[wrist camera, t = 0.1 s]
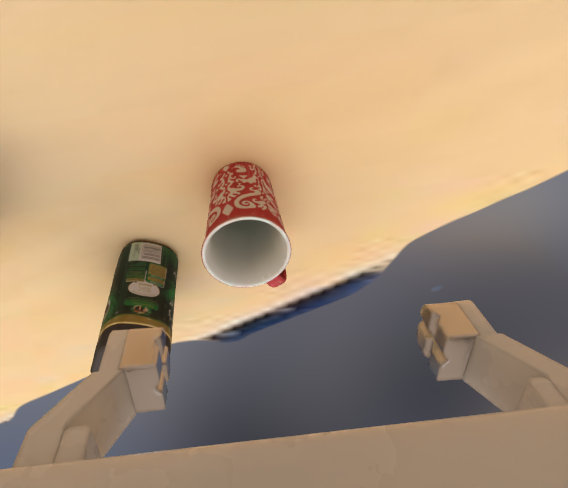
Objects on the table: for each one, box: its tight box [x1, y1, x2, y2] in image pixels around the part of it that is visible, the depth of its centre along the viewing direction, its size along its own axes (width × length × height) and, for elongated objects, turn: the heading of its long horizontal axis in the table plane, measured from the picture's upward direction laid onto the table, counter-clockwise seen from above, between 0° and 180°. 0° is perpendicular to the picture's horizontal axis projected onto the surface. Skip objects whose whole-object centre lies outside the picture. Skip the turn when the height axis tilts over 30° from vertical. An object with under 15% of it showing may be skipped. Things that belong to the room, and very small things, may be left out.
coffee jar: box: [91, 242, 178, 373], centre depth 53 cm, size 10×8×19 cm
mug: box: [201, 162, 291, 288], centre depth 51 cm, size 13×9×14 cm
